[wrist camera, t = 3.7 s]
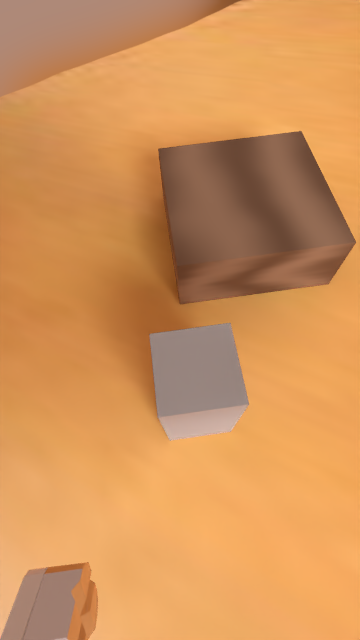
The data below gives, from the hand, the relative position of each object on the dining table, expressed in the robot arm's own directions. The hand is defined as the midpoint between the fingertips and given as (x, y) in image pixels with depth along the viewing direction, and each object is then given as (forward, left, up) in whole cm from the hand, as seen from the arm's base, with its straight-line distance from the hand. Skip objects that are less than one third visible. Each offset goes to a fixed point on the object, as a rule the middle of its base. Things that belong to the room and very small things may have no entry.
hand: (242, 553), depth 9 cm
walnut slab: (+6, +21, -12) cm, 24 cm away
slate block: (0, +7, -12) cm, 13 cm away
